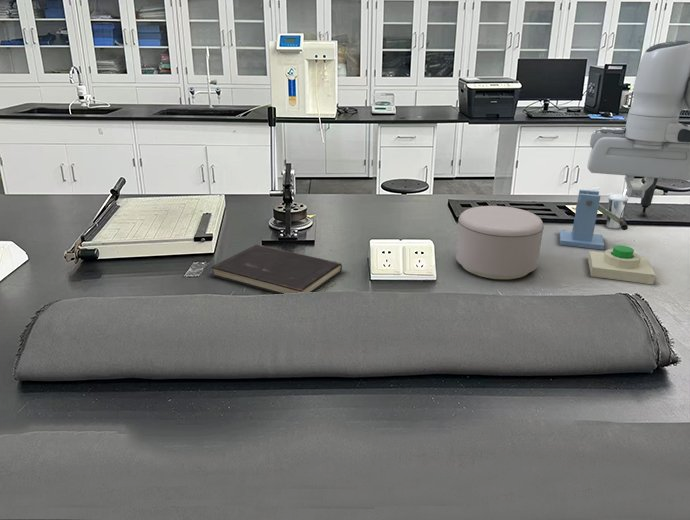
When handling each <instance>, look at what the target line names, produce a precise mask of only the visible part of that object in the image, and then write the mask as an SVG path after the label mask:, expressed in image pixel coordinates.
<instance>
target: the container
mask: <svg viewBox="0 0 690 520" xmlns="http://www.w3.org/2000/svg"><path fill="white" fill-rule="evenodd" d="M457 221H458V224H457V236H456V237H457V238H456V245H455V246H456V247H455V257H454V258H455V260H456V261H457V262H458V264H459V265H461V266H462V268H463V269H464V270H466V271H467V272H469V273H471V274H473V275H476V276H479V277H483V278H486V279H493V280H514V279H519V278H523V277H525V276H526V275H528V274H529V273H532V272H533V271H535V270H536V269H538V265H539V264H538V263H539V258H540V252H541V244H542V239H543V233H544V232H543V231H544V227H545V226H544V222H543V220H542V219H541V217H539V216H538V215H537V214H535V213H533V212H531V211H528V210H525V209H522V208H517V207H512V206H504V205H481V206H473V207H470V208H468V209H465V210H464V211H462V212H461V213H460V215H459V217H458V220H457Z"/></svg>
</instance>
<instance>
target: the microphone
mask: <svg viewBox="0 0 690 520" xmlns="http://www.w3.org/2000/svg"><path fill="white" fill-rule="evenodd" d="M658 179H659V178H654V182H653V184H652V185H651V186H650V187H649V188H648V189H647V190H645V194H644V198H640V205H641V207H642V212H640V216H641V217H645V216H646V215H647V213H646V210H647V208H649V207H651V205H652V203H653V198H654V194H655V190H656V188H657V187H656V186H657V183H658ZM645 182H646V181H645V180H644V183H645ZM644 183H643V184H644Z"/></svg>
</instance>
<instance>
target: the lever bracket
mask: <svg viewBox="0 0 690 520" xmlns="http://www.w3.org/2000/svg"><path fill="white" fill-rule="evenodd" d="M586 192H588V193H590V194H585V193H586ZM600 202H601V195H600V191H599V190H593V189H592V190H591V189H590V190H589V189H579V190H578V196H577V201H576V207H575V213H574V219H573V225H572V230H571V231H569V230H561V229H560V230H559V234H558V235H559V245H560V246H567V247H575V248H584V249H591V250H600V251H604V250H605V242H604V238H603V235H602V234H599V233H598V234H597V233H594V231H595V227H596V221H597V216H598V212H599V210H598V207H599V204H600Z"/></svg>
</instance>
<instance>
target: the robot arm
mask: <svg viewBox="0 0 690 520" xmlns="http://www.w3.org/2000/svg"><path fill="white" fill-rule="evenodd" d="M633 83H634V84H633V89H632V95H633V97H632V98H633V99H632V103H631V106H630V108H629V110H628V113H627V117H626V123H625V127H606V126H603V127H600V128H598V129H596V130H594V131H593V132H592V134H591V136H590V141H589V145H590V147H591V150H590V153H589V155H588V160H587V170H588V171H589V172H590V173H591V174H602V175H615V176H624V181H625V183H626V186H627V191H626V197H627V198H636V199H641V198H644V194H645V190H647V189H648V188H649V187H650V186H651V185H652V184H653V182H654V178H658V179H666V180H667V179H668V180H680V181H690V126H689V125H688V124H686V123H680V122H679V119H680V116H681V115H680V114H681V112H683V110H687V111H690V41H689V40H673V41H666V42H665V41H664V42H661V43H656V44H653V45H651V46H649V47H648V48H647V49H646V50H645V51H644V53H643V55H642V57H641V60H640V62H639V64H638V68H637V72H636V75H635V79H634V82H633ZM635 177H642V178H644V182H645V181H646V182H645V183H643V184H642V186H641V187H633V185H632V183H631V182H633V181H634V179H635Z"/></svg>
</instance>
